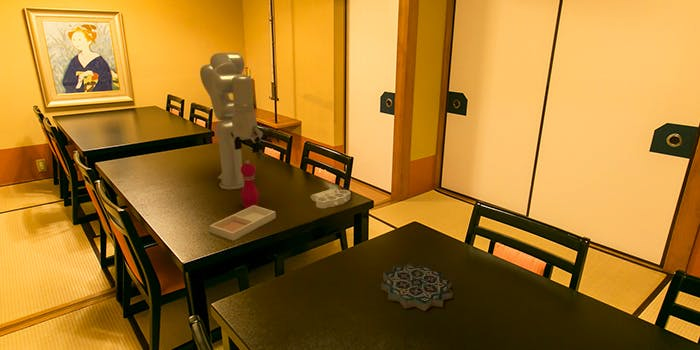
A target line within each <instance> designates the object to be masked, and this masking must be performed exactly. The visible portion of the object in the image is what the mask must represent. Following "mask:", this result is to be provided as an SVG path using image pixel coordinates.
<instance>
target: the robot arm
mask: <svg viewBox="0 0 700 350" xmlns="http://www.w3.org/2000/svg"><path fill="white" fill-rule="evenodd" d="M209 62H210V63H209V64H205V65H203V66H201V67H200V70H199V75H200V80H201V84H202V86H203V87H204V89H205V90H206V93H207V94H208V95H209V98H210V101H211V105H212V109H213V113H214V116H215V118H216V119H217V120H218V121H219V122H217V124H216V125H215V133H216V137H217V140H218V146H219V147H218V148H219V154H220V157H219V158H220V167H221V173H220V174H219V175H218V176H217V178H218V179H219V180H220V181H221V182H220V183H219V187H220V188H221V189H223V190H228V191H229V190H231V191H232V190H238V189H243V187H244V179H243V177H242V176H243V174H242V173H241V167H242V165H243V159H242V148H243V147H242V146H243V145H242V140H249V139H250V140H251V141H252V143H251V149H252V154H256V153H258V152H260V143H261V140H262V137H263V135H264V132H263V131H262V130H260V129H259V127H258V121H257V115H256V112H255V107H254V95H253V93H254V91H253V79H252V78H251V76H249V75H248V74H245V73H243V72H244V69H245V60H244V57H243V56H242V54H240V53H239V52H217V53H213V55H212V56H211V57H210V60H209ZM229 94H232V98H233V99H230V98H231V97H230V95H229Z"/></svg>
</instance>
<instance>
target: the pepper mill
mask: <svg viewBox="0 0 700 350" xmlns="http://www.w3.org/2000/svg"><path fill="white" fill-rule="evenodd" d="M256 171H257V170H256V166H255V165H254V164H252V163H251V162H250V160H248V159H247V160H245V163H244V164H242V167H241V173H242V174H243V176H242V177H243V180H244V187H243V188H242V191H241V194H240V198H241V200H242V206H243V207H244V208H245V209H246V208H249V207H251V206H253V205H255V206H259V200H258V199H259V196H260V195H259V190H258V189H257V187H256V185H255V178H256V177H255V173H256Z"/></svg>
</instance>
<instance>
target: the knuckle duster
mask: <svg viewBox="0 0 700 350" xmlns="http://www.w3.org/2000/svg"><path fill="white" fill-rule="evenodd" d="M310 199H311V200H312V201H313V202H315V206H316V208H318V209H327V208H331V207H333V208H334V207H338V206H339V205H345V204H346V203H347V202H348V201H350V200H351V191H350V190H348V189H335V188H330V189H327V190H324V191H323V190H322V191H321V192H317V193H314V194H311V195H310Z"/></svg>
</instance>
